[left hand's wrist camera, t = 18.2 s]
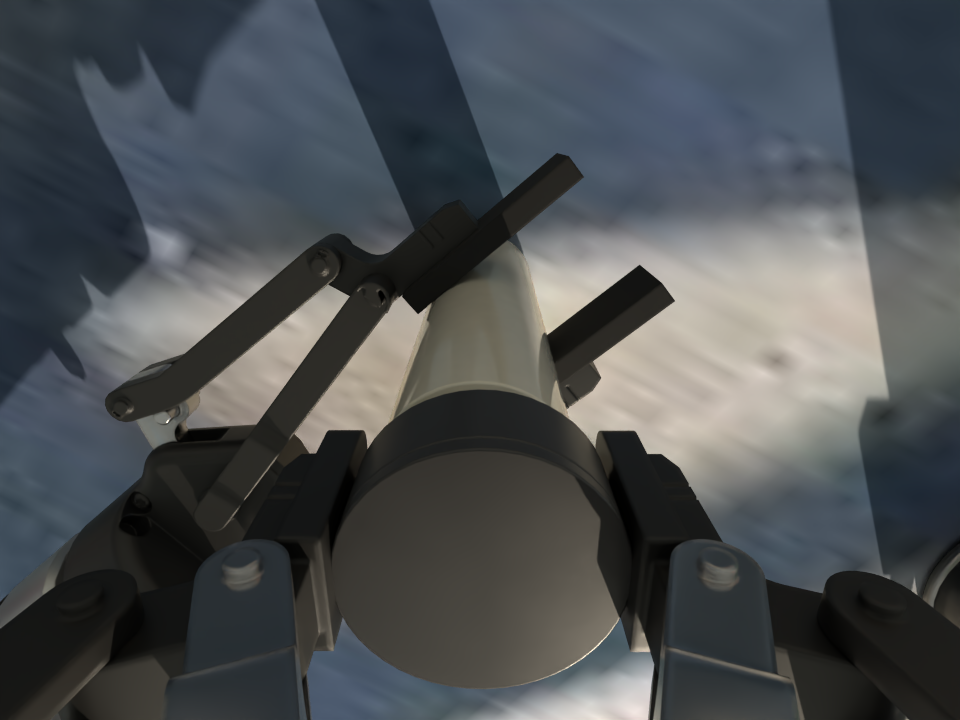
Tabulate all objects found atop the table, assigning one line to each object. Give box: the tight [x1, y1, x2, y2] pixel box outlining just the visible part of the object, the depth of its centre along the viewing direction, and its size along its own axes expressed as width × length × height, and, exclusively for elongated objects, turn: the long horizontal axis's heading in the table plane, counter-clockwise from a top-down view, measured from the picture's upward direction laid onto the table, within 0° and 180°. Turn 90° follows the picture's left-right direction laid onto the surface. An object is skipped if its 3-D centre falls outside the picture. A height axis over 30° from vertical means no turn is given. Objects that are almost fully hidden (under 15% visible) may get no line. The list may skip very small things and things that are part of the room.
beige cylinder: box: [388, 240, 569, 424], centre depth 18 cm, size 4×4×18 cm
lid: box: [331, 389, 633, 689], centre depth 10 cm, size 5×5×2 cm
